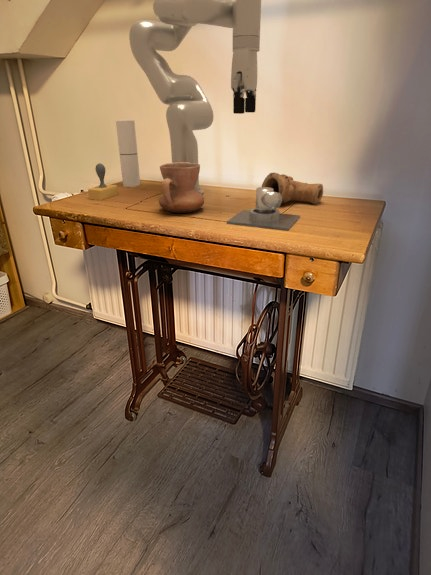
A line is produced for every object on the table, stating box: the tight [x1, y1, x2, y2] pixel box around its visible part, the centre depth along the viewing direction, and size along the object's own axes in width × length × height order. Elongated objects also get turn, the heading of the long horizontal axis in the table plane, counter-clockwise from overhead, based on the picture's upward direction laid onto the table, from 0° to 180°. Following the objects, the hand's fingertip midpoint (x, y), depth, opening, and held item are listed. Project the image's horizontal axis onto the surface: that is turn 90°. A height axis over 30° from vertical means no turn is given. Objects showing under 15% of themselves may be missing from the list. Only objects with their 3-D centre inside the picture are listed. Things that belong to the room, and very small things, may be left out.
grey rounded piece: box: [255, 186, 282, 214], centre depth 111 cm, size 7×5×8 cm, turn 36°
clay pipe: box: [261, 172, 324, 205], centre depth 130 cm, size 19×11×15 cm
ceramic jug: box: [158, 162, 205, 214], centre depth 122 cm, size 18×14×14 cm
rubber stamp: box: [87, 162, 119, 201], centre depth 141 cm, size 10×6×12 cm, turn 154°
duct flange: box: [226, 207, 301, 231], centre depth 113 cm, size 18×14×3 cm
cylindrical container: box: [115, 119, 141, 188], centre depth 157 cm, size 7×7×25 cm
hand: (244, 112), depth 115 cm, fingers open, 9 cm apart
